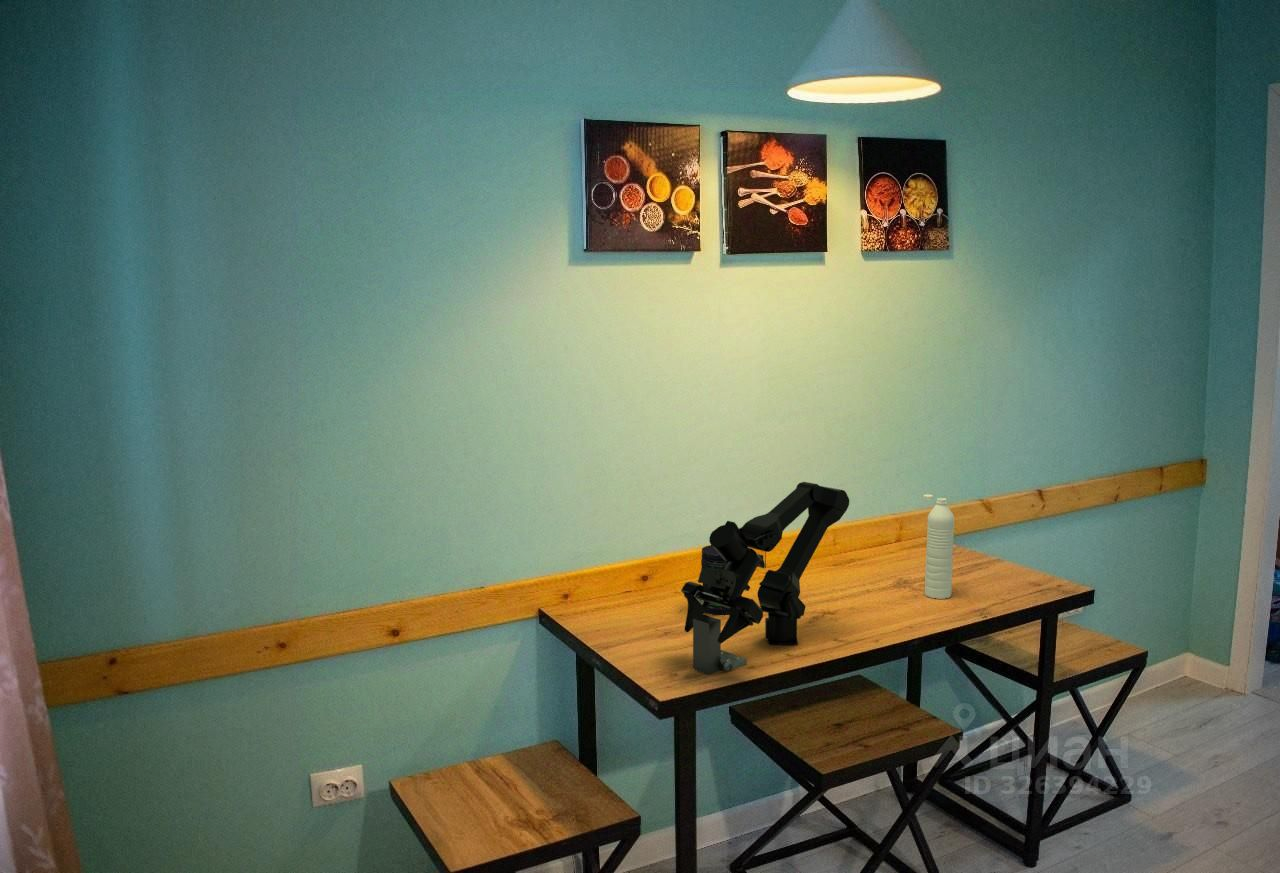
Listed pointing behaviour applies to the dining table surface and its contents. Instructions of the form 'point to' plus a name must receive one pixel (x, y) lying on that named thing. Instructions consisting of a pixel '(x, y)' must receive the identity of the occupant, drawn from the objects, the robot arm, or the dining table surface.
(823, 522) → the robot arm
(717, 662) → the dark grey block
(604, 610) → the dining table surface
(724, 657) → the fixed hinge leaf
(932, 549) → the water bottle
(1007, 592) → the dining table surface
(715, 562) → the storage jar
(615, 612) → the dining table surface
